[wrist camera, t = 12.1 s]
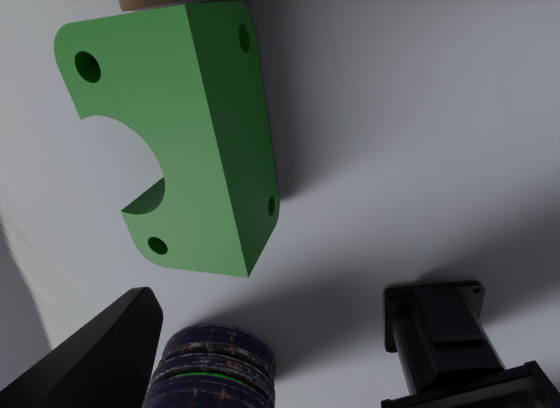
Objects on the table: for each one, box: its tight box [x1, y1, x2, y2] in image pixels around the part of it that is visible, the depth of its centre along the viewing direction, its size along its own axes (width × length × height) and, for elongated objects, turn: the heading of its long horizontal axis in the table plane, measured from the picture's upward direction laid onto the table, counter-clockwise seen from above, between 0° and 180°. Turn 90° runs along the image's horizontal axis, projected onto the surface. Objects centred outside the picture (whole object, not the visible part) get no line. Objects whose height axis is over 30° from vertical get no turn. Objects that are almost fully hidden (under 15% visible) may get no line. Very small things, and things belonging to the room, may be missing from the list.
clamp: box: [54, 1, 280, 277], centre depth 16 cm, size 12×6×9 cm, turn 2°
